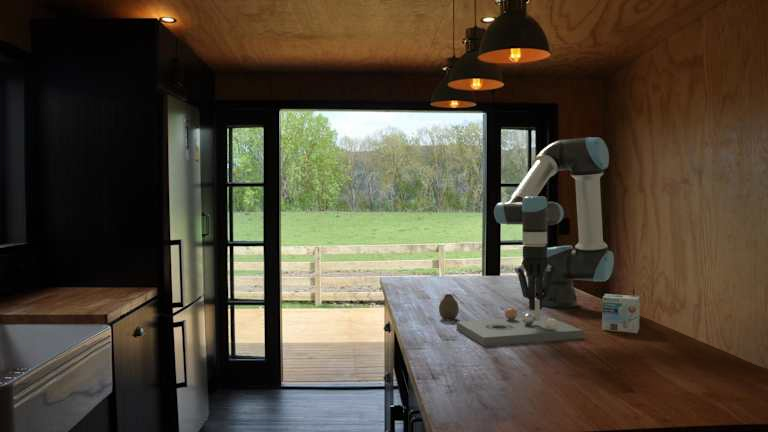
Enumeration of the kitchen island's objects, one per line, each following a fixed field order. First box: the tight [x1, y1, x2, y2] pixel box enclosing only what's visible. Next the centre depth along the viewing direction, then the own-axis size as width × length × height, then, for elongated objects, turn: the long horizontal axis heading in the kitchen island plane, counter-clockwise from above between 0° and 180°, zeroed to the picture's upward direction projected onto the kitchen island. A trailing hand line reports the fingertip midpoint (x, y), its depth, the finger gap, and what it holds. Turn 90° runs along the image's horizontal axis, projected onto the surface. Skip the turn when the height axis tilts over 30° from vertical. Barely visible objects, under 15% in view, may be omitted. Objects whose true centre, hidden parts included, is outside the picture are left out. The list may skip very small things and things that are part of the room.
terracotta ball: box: [504, 307, 518, 320], centre depth 187 cm, size 4×4×4 cm
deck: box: [456, 315, 584, 347], centre depth 179 cm, size 32×22×2 cm
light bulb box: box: [601, 293, 640, 334], centre depth 182 cm, size 11×7×11 cm, turn 62°
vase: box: [438, 293, 459, 321], centre depth 202 cm, size 7×7×9 cm
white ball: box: [545, 318, 557, 331], centre depth 172 cm, size 4×4×4 cm
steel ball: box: [522, 313, 534, 325], centre depth 179 cm, size 4×4×4 cm
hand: (535, 319), depth 180 cm, fingers closed
